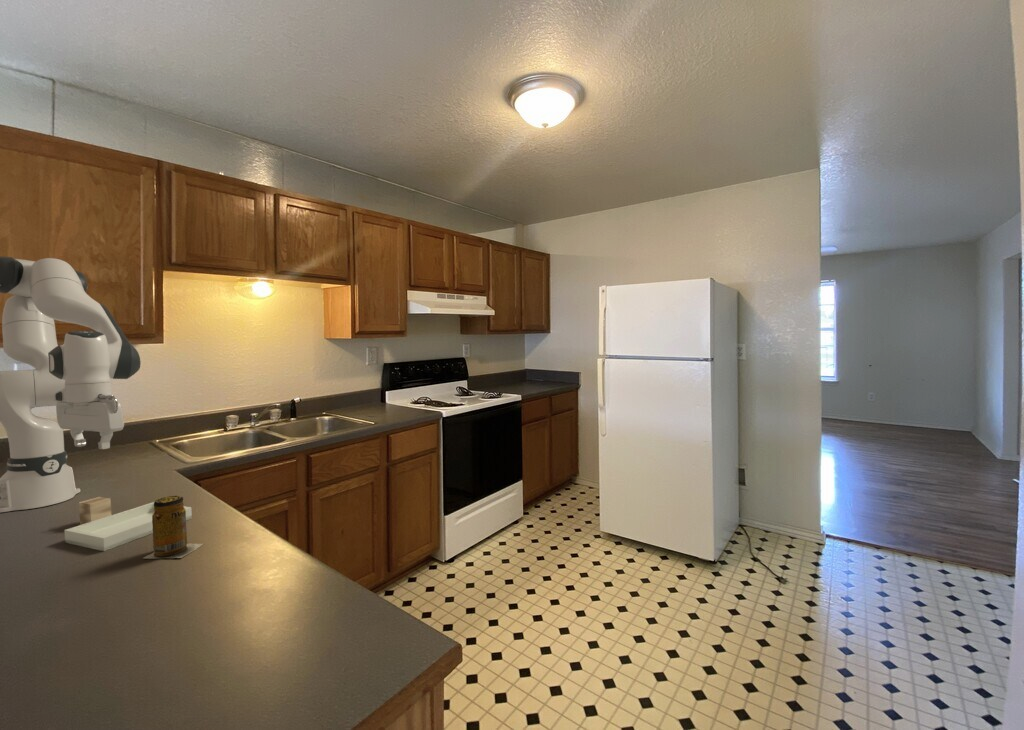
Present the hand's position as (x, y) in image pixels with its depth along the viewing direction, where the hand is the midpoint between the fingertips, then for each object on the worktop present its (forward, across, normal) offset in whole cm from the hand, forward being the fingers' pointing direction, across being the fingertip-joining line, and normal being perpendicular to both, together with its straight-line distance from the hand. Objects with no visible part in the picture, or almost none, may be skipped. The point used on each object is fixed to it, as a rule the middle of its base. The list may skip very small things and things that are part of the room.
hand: (92, 447), depth 118 cm
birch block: (+20, 0, 0) cm, 20 cm away
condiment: (+20, -36, +5) cm, 41 cm away
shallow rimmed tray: (+20, -14, 0) cm, 24 cm away
